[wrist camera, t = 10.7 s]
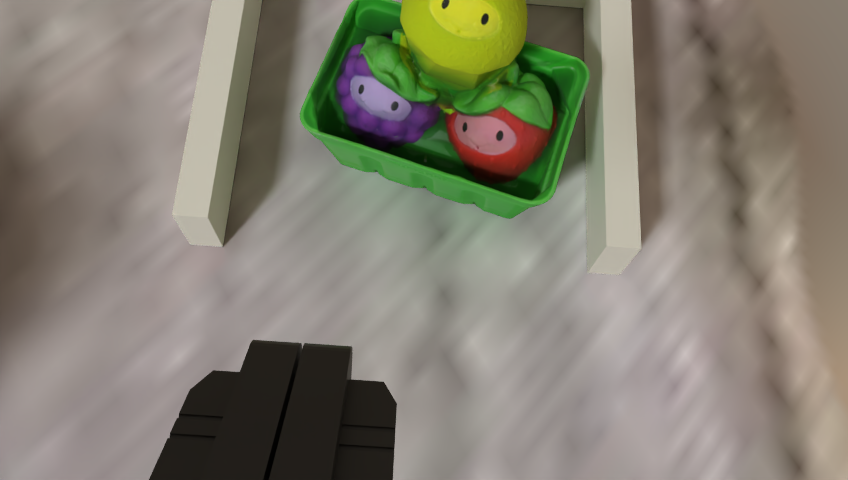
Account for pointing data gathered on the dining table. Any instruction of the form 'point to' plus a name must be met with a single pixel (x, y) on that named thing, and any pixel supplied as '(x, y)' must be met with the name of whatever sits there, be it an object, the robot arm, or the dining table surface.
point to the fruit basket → (448, 100)
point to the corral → (602, 3)
